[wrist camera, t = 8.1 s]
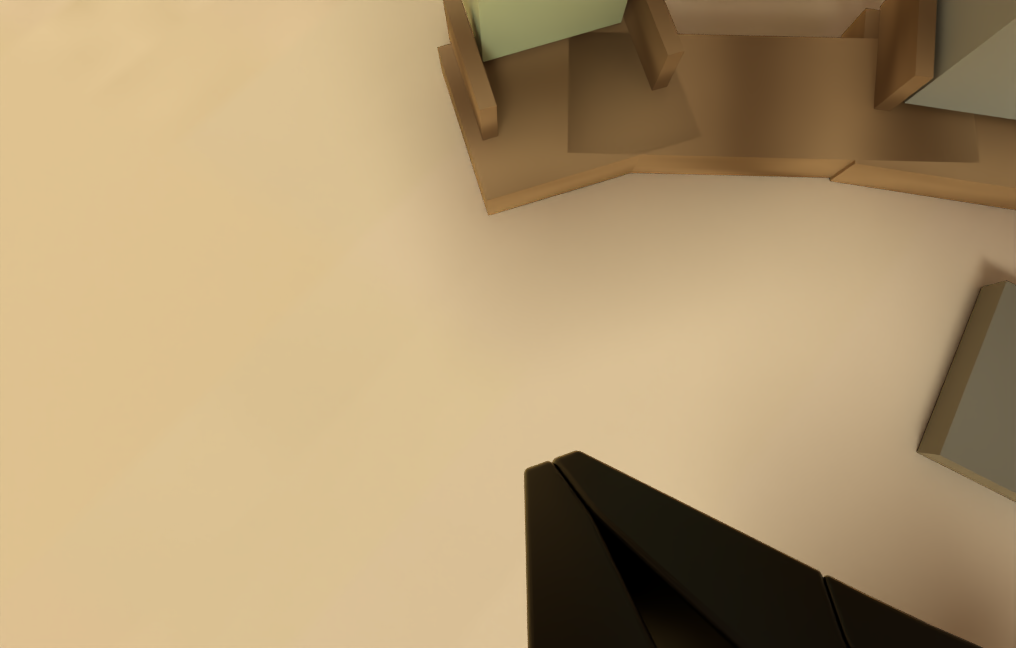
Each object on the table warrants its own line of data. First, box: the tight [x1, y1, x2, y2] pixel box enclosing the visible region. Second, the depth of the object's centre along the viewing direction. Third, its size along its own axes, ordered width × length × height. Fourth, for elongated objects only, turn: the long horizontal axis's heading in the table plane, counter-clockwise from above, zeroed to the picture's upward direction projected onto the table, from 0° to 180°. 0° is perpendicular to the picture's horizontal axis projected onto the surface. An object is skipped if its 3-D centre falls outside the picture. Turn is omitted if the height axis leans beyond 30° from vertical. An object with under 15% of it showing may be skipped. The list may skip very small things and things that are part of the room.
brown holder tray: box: [437, 0, 1016, 215], centre depth 19 cm, size 25×9×4 cm, turn 90°
